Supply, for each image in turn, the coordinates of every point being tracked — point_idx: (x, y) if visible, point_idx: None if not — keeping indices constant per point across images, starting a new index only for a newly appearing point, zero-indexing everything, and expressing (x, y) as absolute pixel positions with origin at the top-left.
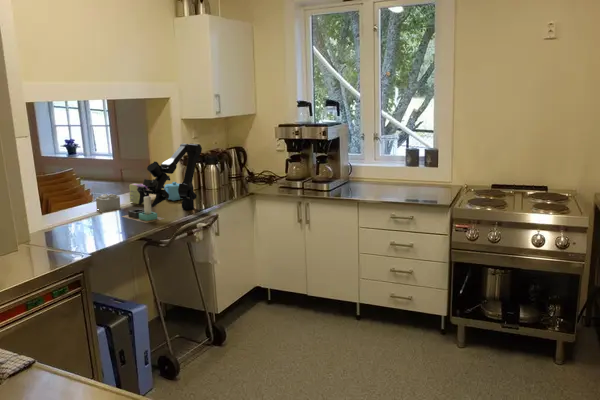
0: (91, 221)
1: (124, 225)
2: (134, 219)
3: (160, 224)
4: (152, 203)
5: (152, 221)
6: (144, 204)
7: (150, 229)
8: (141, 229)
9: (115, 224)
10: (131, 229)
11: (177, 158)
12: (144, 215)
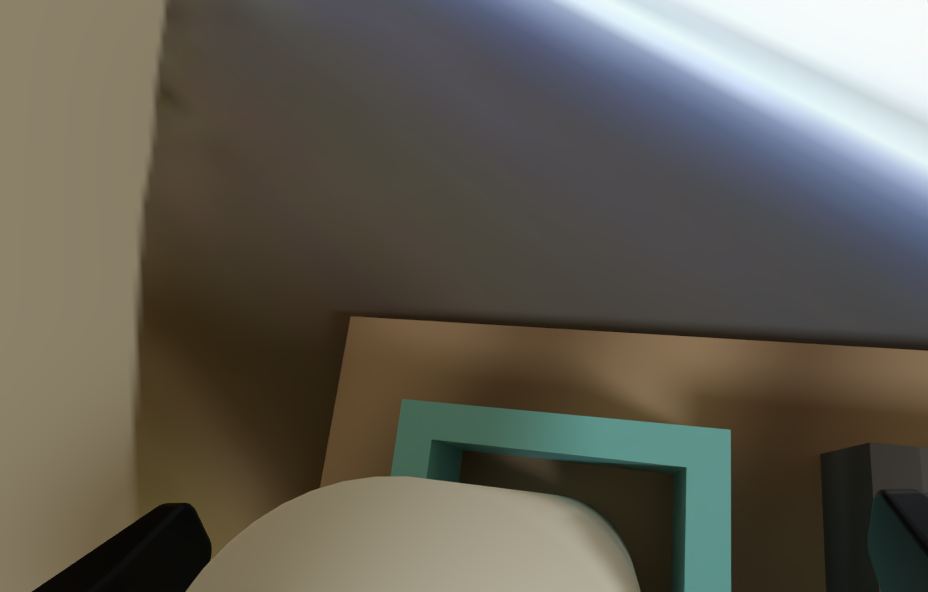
0: None
1: (634, 91)
2: (752, 358)
3: (184, 473)
4: (109, 568)
5: (327, 450)
6: (527, 492)
7: (155, 190)
8: (257, 119)
9: (820, 36)
10: (370, 41)
11: None
12: (489, 409)
